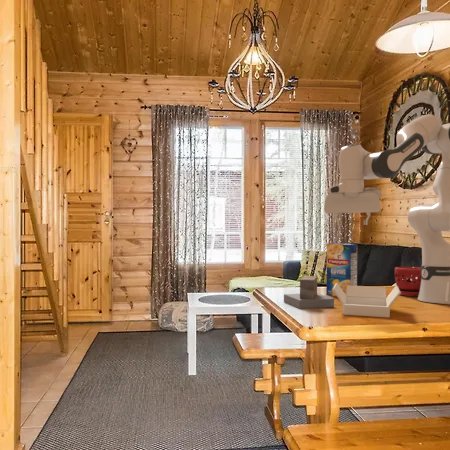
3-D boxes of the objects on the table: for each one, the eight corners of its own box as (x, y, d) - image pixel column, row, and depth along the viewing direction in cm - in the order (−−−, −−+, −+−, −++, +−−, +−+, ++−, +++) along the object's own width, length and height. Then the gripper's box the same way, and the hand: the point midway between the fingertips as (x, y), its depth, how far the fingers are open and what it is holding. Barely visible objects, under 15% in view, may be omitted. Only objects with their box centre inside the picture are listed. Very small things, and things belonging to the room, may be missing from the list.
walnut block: (304, 293, 185) (304, 276, 185) (317, 294, 183) (317, 276, 183) (299, 298, 173) (300, 279, 173) (313, 299, 172) (313, 280, 172)
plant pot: (433, 296, 200) (434, 268, 200) (409, 298, 195) (409, 269, 195) (411, 292, 212) (411, 265, 212) (387, 293, 208) (388, 266, 207)
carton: (336, 303, 181) (336, 281, 181) (396, 307, 174) (397, 284, 174) (332, 313, 160) (332, 288, 160) (400, 318, 154) (401, 292, 154)
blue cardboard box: (350, 297, 195) (351, 244, 195) (326, 294, 202) (326, 243, 202) (357, 295, 201) (357, 244, 200) (333, 292, 208) (333, 243, 207)
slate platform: (316, 300, 187) (316, 293, 187) (333, 306, 174) (334, 298, 174) (283, 301, 183) (283, 294, 183) (299, 308, 170) (299, 300, 170)
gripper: (380, 187, 175) (381, 224, 175) (324, 189, 181) (325, 225, 181) (381, 186, 169) (381, 224, 169) (323, 188, 175) (324, 225, 175)
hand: (352, 225), depth 175 cm, fingers open, 8 cm apart
